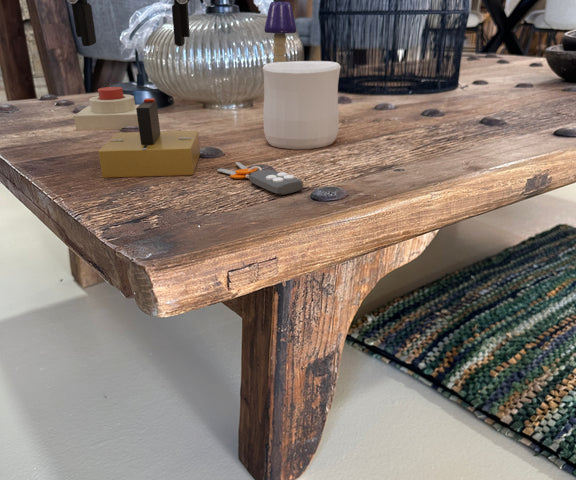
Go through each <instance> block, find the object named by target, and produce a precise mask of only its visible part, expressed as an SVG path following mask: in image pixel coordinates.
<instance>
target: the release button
mask: <svg viewBox="0 0 576 480" xmlns="http://www.w3.org/2000/svg"><path fill="white" fill-rule="evenodd" d="M97 92H98V93H97V94H98V96H99V99H100V100H116V99H122V98H124V96H123V94H124V90H123V87H122V86H105V87H100V88H98V89H97Z"/></svg>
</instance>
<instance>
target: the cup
mask: <svg viewBox="0 0 576 480" xmlns="http://www.w3.org/2000/svg"><path fill="white" fill-rule="evenodd" d="M341 68H342V66H341V64H340V63H338V62H335V61H329V60H326V61H325V60H297V61H286V62H275V63H274V62H268V63H266V64H264V65H263V66H262V72H263V93H264V96H263V110H262V116H263V117H262V118H263V119H262V120H263V133H264V137H265V139H266V141H267V143H268V144H269V145H270V146H272V147H276V148H279V149H286V150H311V149H318V148H319V149H320V148H323V147H327V146H330V145H332V144H333V143H334V142H335V141H336V139H337V137H338V133H339V124H340V123H339V122H340V121H339V118H340V112H339V111H340V110H339V95H338V94H339V80H340V72H341Z"/></svg>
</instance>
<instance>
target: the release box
mask: <svg viewBox="0 0 576 480" xmlns="http://www.w3.org/2000/svg"><path fill="white" fill-rule="evenodd" d="M123 96H124V98H122V99H116V100H100V99H99V95H97V96H92V97H90V98H89V99H88V104H89V105H87V106H86V107H84V108H83V109H82V110H80V111H79V112H77V113H75V114H74V115H73V120H74V127H75V131H106V130H107V131H110V130H123V129H122V128H124V127H127V126H137V127H139V126H138V118H137V111H136V108H137V107H138V106H139V105H140V104H136V101H135V96H134V95H131V94H125V93H123Z"/></svg>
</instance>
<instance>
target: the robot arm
mask: <svg viewBox="0 0 576 480" xmlns="http://www.w3.org/2000/svg"><path fill="white" fill-rule="evenodd" d="M66 1H67V3H69V4H71V8H72V10H71V11H72V17H73V21H74V29H75V35H76V37H77V38H80V39H81V44H82V47H90V46H93V45H95V44H96V43H97V37H96V36H97V35H96V29H95V22H94V14H93V9H92V5H91V4H90V2H88V0H66ZM190 1H191V0H173V4H172V5H171V14H172V27H173V40H174V41H173V42H174V45H175V46H176V47H183V46H184V45H185V41H186V40H185V38H190V35H191V34H190V33H191V32H190V17H189V5H188V3H189V2H190Z"/></svg>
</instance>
